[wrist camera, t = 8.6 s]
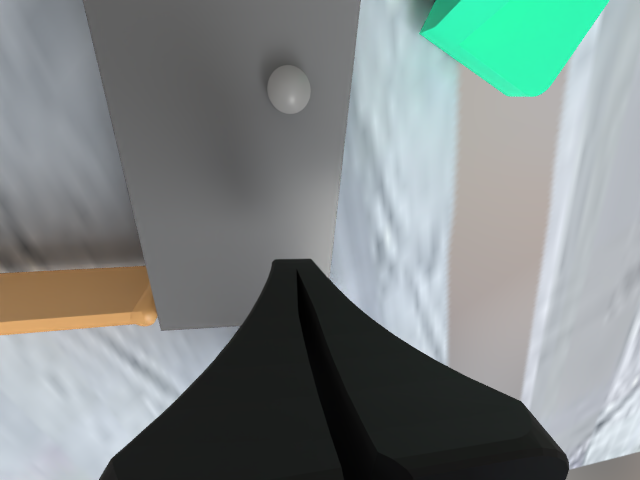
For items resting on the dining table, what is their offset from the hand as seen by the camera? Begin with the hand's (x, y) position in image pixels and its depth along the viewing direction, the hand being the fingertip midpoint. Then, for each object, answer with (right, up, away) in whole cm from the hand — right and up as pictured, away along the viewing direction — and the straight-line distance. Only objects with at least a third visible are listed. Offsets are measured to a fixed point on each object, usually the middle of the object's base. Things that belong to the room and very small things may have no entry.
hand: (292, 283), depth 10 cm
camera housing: (-3, +6, +7) cm, 10 cm away
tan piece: (-15, -1, +8) cm, 17 cm away
